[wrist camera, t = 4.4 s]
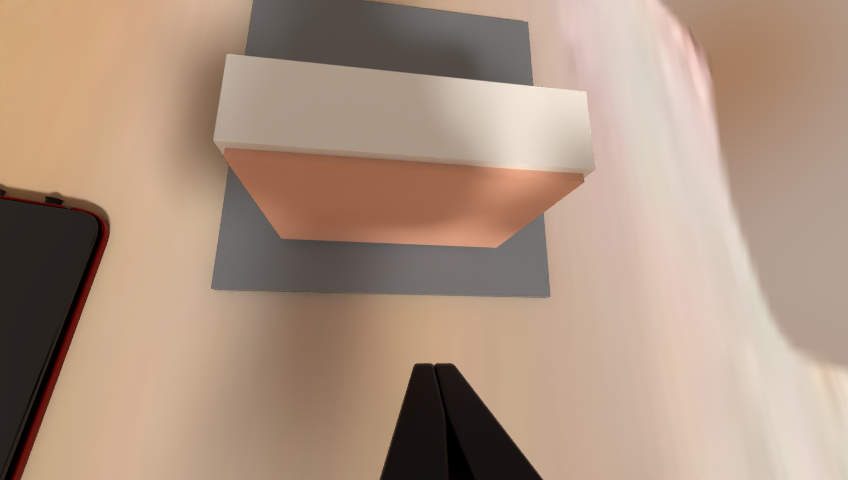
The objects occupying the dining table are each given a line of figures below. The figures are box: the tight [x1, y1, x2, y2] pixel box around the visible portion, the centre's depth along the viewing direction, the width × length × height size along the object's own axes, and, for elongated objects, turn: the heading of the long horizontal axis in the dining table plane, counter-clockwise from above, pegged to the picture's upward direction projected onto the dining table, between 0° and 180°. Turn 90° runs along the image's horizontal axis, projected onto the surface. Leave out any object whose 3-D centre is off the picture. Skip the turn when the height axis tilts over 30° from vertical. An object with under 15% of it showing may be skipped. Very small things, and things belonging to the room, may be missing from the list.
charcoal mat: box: [211, 0, 550, 298], centre depth 24 cm, size 19×18×1 cm
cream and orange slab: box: [213, 54, 595, 248], centre depth 18 cm, size 3×12×10 cm, turn 90°
